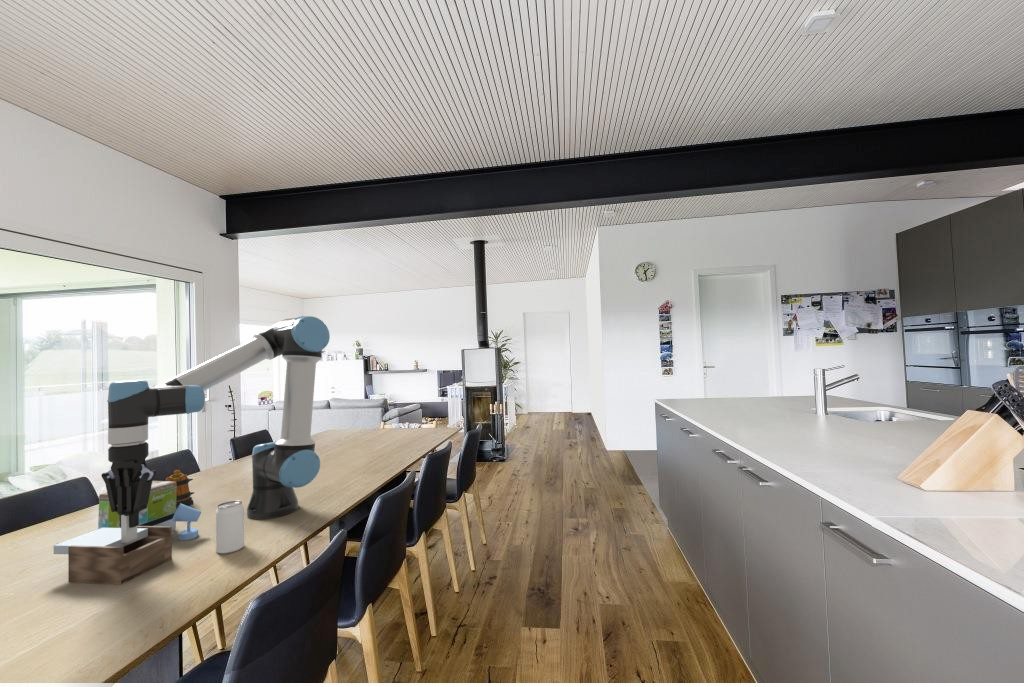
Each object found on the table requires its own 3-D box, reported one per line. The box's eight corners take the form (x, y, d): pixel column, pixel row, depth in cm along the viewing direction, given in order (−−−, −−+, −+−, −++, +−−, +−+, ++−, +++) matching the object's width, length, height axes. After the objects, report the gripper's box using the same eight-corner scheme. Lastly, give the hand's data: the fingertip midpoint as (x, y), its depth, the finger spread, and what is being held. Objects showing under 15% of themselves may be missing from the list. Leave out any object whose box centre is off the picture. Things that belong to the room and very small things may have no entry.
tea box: (126, 550, 122) (125, 495, 122) (96, 548, 124) (96, 494, 124) (177, 529, 136) (177, 480, 137) (150, 527, 138) (150, 479, 139)
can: (250, 545, 122) (249, 501, 122) (227, 555, 116) (227, 508, 116) (232, 543, 124) (232, 499, 124) (209, 552, 118) (209, 506, 118)
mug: (194, 506, 158) (194, 473, 158) (157, 513, 152) (157, 478, 152) (194, 497, 168) (194, 467, 169) (159, 503, 162) (159, 471, 163)
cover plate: (147, 536, 115) (147, 528, 115) (103, 555, 104) (102, 546, 104) (102, 535, 117) (102, 527, 117) (53, 554, 106) (53, 545, 106)
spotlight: (171, 543, 125) (201, 536, 129) (171, 507, 125) (201, 502, 130) (172, 538, 129) (201, 531, 133) (171, 503, 129) (200, 498, 134)
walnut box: (171, 558, 115) (171, 526, 115) (121, 584, 102) (121, 548, 102) (124, 557, 117) (124, 525, 117) (68, 582, 104) (68, 546, 104)
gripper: (166, 440, 113) (166, 534, 112) (120, 440, 115) (121, 533, 114) (137, 446, 106) (138, 547, 105) (89, 446, 107) (89, 546, 106)
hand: (129, 540), depth 109 cm, fingers closed
